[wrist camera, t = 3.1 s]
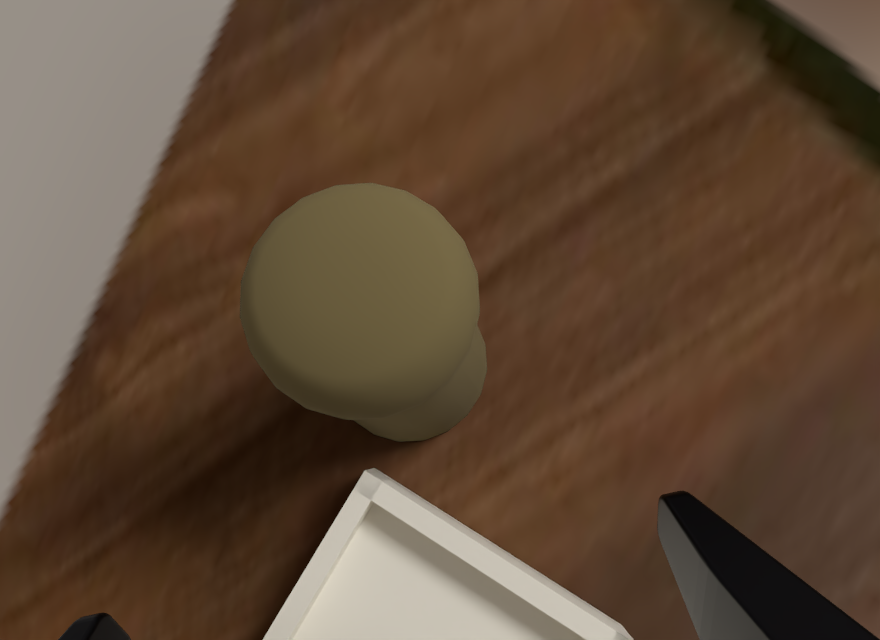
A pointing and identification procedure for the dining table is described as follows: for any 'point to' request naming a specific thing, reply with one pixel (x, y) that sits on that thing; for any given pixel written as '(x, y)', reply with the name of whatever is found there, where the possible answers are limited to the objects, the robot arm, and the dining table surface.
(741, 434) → the dining table surface
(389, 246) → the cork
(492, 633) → the tray
